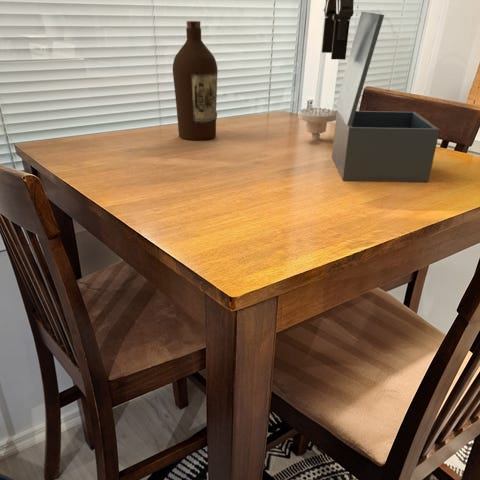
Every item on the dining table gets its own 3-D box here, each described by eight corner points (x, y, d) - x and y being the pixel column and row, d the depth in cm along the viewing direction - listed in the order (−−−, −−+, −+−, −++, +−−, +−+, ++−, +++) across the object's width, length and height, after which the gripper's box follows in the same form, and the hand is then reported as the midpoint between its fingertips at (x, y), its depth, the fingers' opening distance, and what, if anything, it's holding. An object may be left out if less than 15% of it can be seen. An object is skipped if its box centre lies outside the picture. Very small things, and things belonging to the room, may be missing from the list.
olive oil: (168, 134, 126) (161, 20, 113) (202, 129, 132) (199, 19, 118) (191, 143, 119) (186, 22, 106) (226, 137, 125) (226, 21, 111)
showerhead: (328, 113, 115) (291, 108, 119) (325, 146, 119) (289, 139, 123) (346, 107, 121) (310, 103, 126) (342, 138, 125) (307, 132, 130)
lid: (365, 12, 95) (361, 11, 95) (384, 15, 81) (379, 14, 81) (338, 108, 105) (335, 107, 105) (351, 125, 91) (347, 124, 91)
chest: (406, 158, 110) (415, 111, 105) (428, 182, 96) (440, 129, 91) (331, 157, 110) (336, 110, 105) (342, 180, 96) (349, 127, 91)
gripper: (317, -68, 101) (308, 49, 113) (336, -85, 80) (322, 62, 92) (353, -68, 101) (340, 50, 113) (382, -84, 81) (363, 62, 92)
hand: (332, 55), depth 103 cm, fingers open, 13 cm apart
